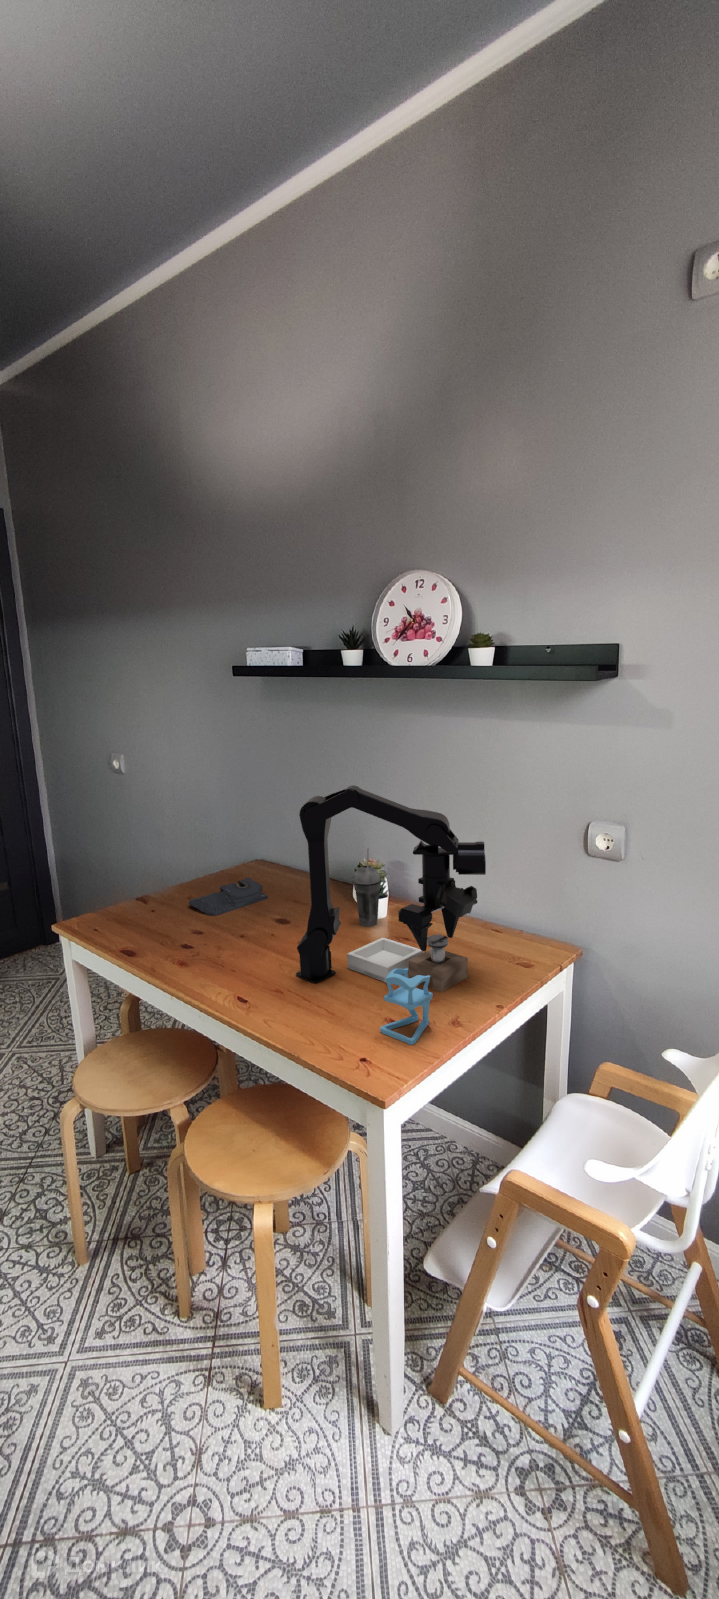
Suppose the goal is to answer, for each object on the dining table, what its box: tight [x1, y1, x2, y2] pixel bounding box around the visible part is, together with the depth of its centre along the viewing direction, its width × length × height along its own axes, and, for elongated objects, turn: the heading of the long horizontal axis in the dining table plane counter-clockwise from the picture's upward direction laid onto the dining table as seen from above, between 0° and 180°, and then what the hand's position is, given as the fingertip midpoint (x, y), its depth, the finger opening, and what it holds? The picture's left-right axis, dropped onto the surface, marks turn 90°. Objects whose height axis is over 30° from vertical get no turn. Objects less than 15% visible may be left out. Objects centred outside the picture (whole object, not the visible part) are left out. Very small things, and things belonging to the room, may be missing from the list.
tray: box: [346, 937, 424, 983], centre depth 164 cm, size 12×12×4 cm
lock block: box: [408, 948, 469, 993], centre depth 157 cm, size 9×9×4 cm
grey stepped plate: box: [188, 877, 269, 917], centre depth 212 cm, size 15×22×5 cm
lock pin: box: [427, 934, 449, 965], centre depth 157 cm, size 4×4×9 cm
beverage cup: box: [352, 848, 382, 928], centre depth 189 cm, size 7×7×20 cm
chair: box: [379, 968, 434, 1046], centre depth 136 cm, size 8×8×12 cm
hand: (437, 944), depth 156 cm, fingers open, 9 cm apart
